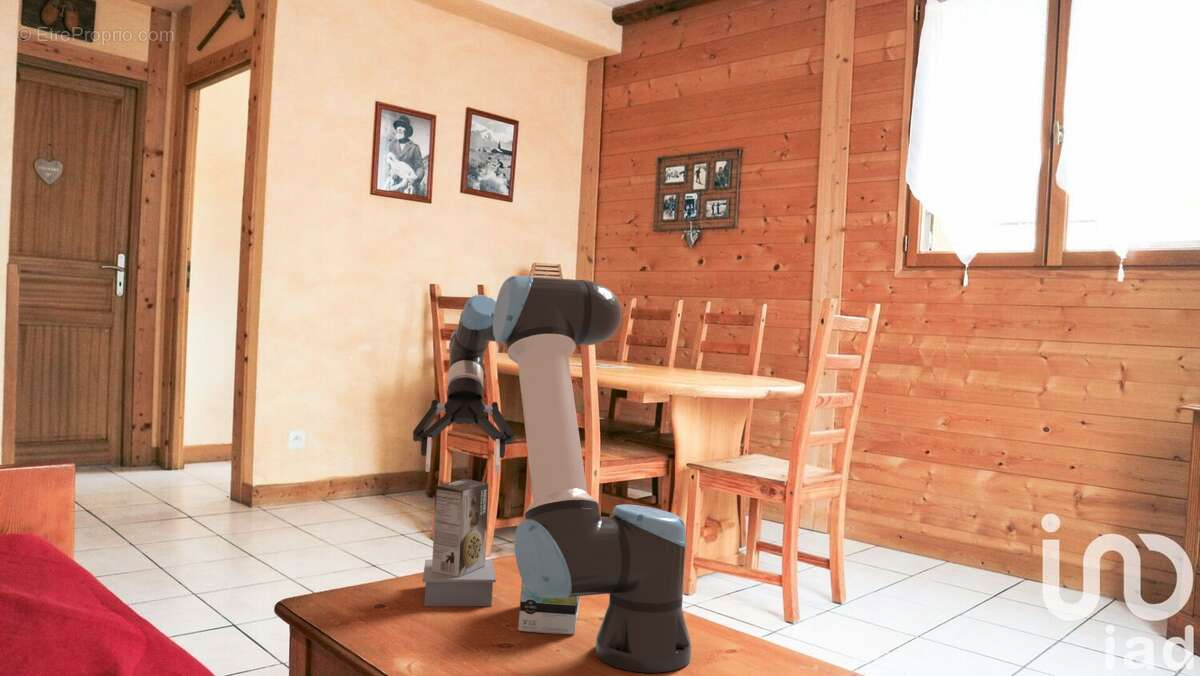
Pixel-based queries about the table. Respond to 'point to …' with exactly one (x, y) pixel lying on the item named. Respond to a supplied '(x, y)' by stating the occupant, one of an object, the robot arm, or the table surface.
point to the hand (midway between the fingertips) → (462, 468)
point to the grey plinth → (459, 587)
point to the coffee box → (460, 527)
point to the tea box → (547, 613)
